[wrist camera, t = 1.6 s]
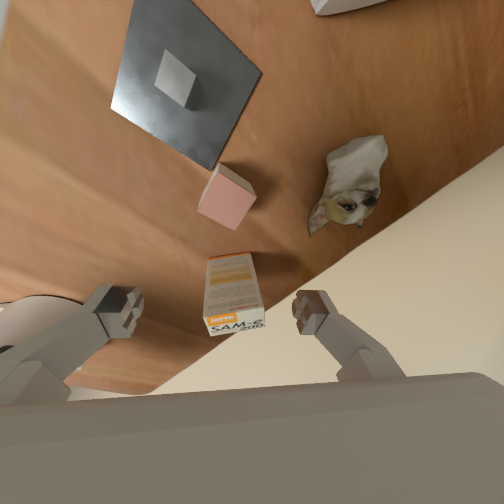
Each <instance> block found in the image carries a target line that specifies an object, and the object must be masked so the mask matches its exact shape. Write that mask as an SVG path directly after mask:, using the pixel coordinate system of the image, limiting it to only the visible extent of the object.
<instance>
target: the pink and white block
mask: <svg viewBox="0 0 504 504" xmlns="http://www.w3.org/2000/svg"><path fill="white" fill-rule="evenodd" d="M256 198H257V196H256V194H255V192H254V190H253V188H252V186H251V184H250V183H249V182H248V181H246V180H245V179H243V178H242V177H240V176H239V175H237V174H236V173H234V172H233V171H232V170H230V169H229V168H227V167H226V166H224V165H223V164H221V163H220V162H219V163H218V164H217V166H216V168H215V170H214V172H213V174H212V176H211V178H210V180H209V182H208V184H207V186H206V188H205V190H204V192H203V193H202V196H201V200H200V203H199V207H198V210H197V212H199V213H201V214H203V215H205V216H207V217H209V218H211V219H213V220H215V221H217V222H219V223H221V224H222V225H224V226H226V227H228V228H230V229H232V230H234V231H235V229H236V228H237V226H238V225H239V223H240V222H241V220H242V219H243V217H244V216H245V214H246V213H247V212H248V210H249V209H250V207H251V206H252V204H253V203H254V201H255V200H256Z"/></svg>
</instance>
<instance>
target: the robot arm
mask: <svg viewBox="0 0 504 504" xmlns="http://www.w3.org/2000/svg"><path fill="white" fill-rule="evenodd" d="M140 292H141V287H140V285H128V284H106V283H103V284H101V285H99V286H98V287H97V289H96V290H95V291H94V292H93V294H92V295H91V296H90V297H89V299H88V300H87V301H86V302H85V304H84V305H81V304H78V303H76V302H73V301H70V300H67V299H63V298H58V297H51V296H31V297H26V298H22V299H20V300H17V301H15V302H12V303H4V304H0V504H504V386H503V385H501V384H499V383H498V382H496V381H494V380H493V379H491V378H489V377H487V376H486V375H483V374H480V373H476V372H467V373H453V374H439V375H425V376H411V377H406V375H405V374H404V373H403V371H402V370H401V368H400V367H399V365H398V364H397V363H396V361H395V360H394V358H393V357H392V356H391V354H390V353H389V351H388V350H387V349H386V347H384V346H383V345H382V344H380V343H379V342H378V341H376V340H375V339H374V338H372V337H371V336H370V335H368V334H367V333H366V332H365V331H363V330H362V329H360V328H359V327H358V326H356V325H355V324H354V323H353V322H351V321H350V320H349V319H347V318H346V317H345V316H343V315H340V314H339V313H338V311H337V310H336V308H335V306H334V304H333V303H332V301H331V299H330V298H329V296H328V294H327V293H326V292H325V291H322V290H321V291H320V290H299V291H297V293H296V296H297V298H296V299H294V300H293V303H292V312H293V316H294V317H295V318H296V319H297V323H296V324H297V327H298V330H299V333H300V335H315V337H316V338H317V339H318V340H319V341H320V342H321V343H322V345H324V347H325V348H326V349H327V350H328V351H329V352H330V353H331V354H332V355H333V357H334V358H335V359H336V360H337V361H338V362H339V363H340V365H342V368H341V369H340V370H339V371H338V372H337V375H336V376H337V378H338V380H339V382H328V383H314V384H301V385H286V386H272V387H258V388H244V389H230V390H216V391H202V392H188V393H175V394H161V395H147V396H134V397H119V398H106V399H92V400H79V401H67V399H68V397H69V396H70V394H71V389H70V388H69V387H68V386H67V385H66V384H65V383H64V382H63V380H65V379H66V378H67V377H68V376H69V375H70V374H71V373H72V372H74V371H75V370H80V369H81V368H82V366H83V365H84V363H85V361H86V360H87V359H88V358H89V357H91V356H92V355H93V354H94V353H95V352H96V351H97V350H98V349H100V348H101V347H102V346H103V345H104V344H105V343H106V342H107V341H109V339H113V338H131V336H132V333H133V331H134V329H135V327H136V325H137V324H136V321H135V320H136V319H137V318H139V317H140V316H141V314H142V311H143V307H144V298H143V296H141V295H140Z"/></svg>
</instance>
